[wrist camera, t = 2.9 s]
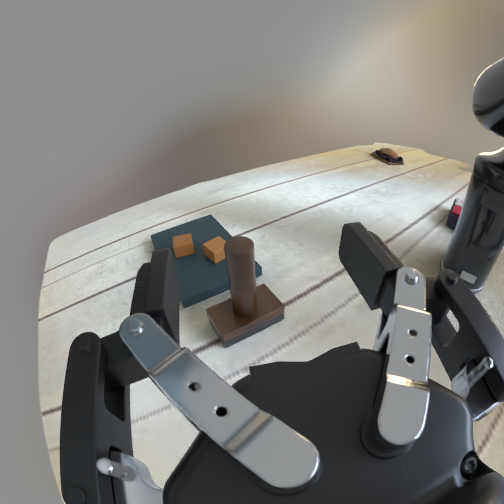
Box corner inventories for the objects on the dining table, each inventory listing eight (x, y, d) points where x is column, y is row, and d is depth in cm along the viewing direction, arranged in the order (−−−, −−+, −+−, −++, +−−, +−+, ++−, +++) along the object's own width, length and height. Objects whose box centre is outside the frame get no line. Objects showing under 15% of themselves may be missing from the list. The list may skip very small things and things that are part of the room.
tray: (211, 221, 52) (210, 214, 51) (262, 274, 39) (261, 267, 38) (152, 242, 47) (150, 235, 46) (184, 308, 35) (181, 300, 34)
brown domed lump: (369, 154, 84) (370, 144, 82) (387, 154, 85) (388, 144, 83) (388, 165, 76) (389, 154, 74) (406, 164, 77) (407, 154, 75)
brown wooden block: (220, 246, 43) (218, 235, 41) (231, 254, 41) (230, 244, 39) (204, 254, 41) (202, 243, 40) (215, 263, 39) (213, 253, 38)
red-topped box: (455, 195, 51) (505, 218, 42) (452, 211, 54) (500, 233, 44) (449, 210, 45) (506, 237, 36) (444, 227, 48) (499, 254, 38)
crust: (193, 243, 44) (190, 232, 42) (194, 254, 41) (192, 243, 40) (175, 246, 43) (172, 236, 42) (175, 258, 41) (173, 247, 40)
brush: (264, 296, 36) (262, 221, 29) (283, 318, 33) (287, 242, 26) (209, 321, 33) (190, 247, 26) (225, 348, 30) (209, 274, 23)
